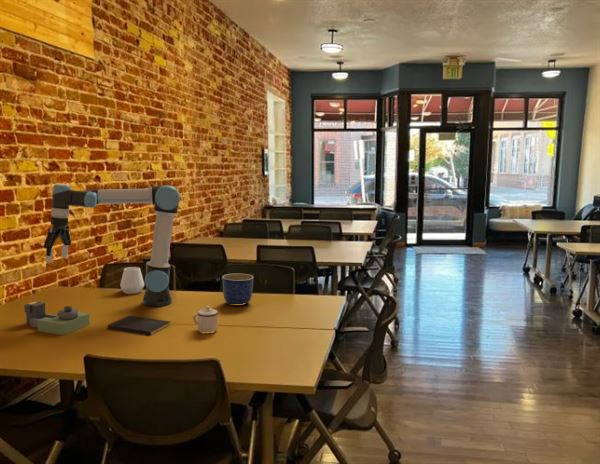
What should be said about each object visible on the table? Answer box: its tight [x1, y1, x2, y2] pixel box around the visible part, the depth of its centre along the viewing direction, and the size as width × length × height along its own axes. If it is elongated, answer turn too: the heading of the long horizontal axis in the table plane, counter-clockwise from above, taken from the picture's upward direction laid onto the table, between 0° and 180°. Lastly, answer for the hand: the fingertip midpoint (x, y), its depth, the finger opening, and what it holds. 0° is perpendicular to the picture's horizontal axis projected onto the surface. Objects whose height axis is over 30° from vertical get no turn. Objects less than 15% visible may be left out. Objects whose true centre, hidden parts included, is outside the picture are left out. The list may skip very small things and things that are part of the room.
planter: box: [221, 273, 254, 305], centre depth 269 cm, size 17×17×15 cm
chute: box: [23, 300, 46, 325], centre depth 227 cm, size 6×7×9 cm
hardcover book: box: [107, 314, 172, 336], centre depth 227 cm, size 16×23×2 cm
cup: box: [119, 266, 145, 295], centre depth 286 cm, size 13×13×14 cm
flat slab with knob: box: [29, 305, 90, 336], centre depth 223 cm, size 22×16×10 cm
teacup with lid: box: [192, 305, 219, 332], centre depth 224 cm, size 12×9×12 cm
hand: (56, 260), depth 238 cm, fingers open, 13 cm apart
